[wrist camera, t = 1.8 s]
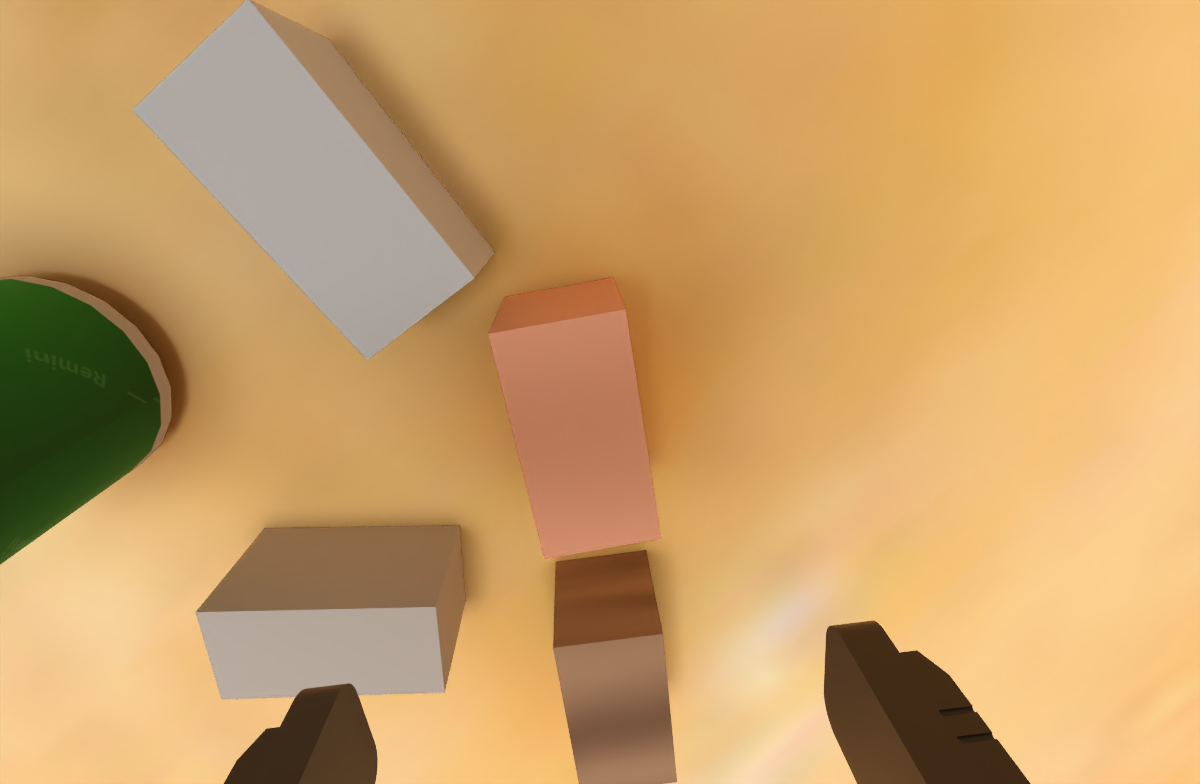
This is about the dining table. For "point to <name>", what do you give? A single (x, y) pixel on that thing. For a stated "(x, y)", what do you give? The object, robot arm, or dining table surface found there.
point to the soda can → (69, 403)
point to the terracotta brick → (576, 416)
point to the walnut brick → (613, 670)
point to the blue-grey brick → (316, 174)
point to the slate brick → (337, 611)
